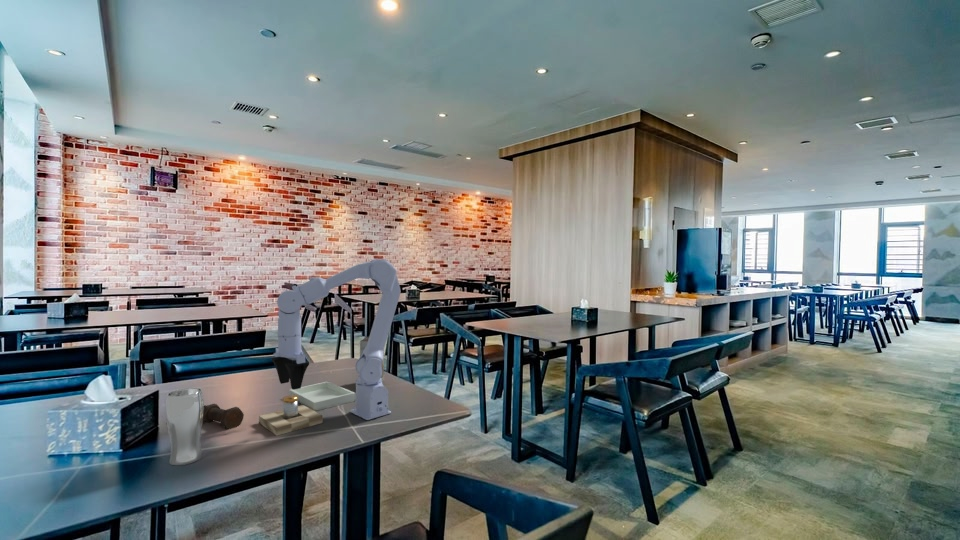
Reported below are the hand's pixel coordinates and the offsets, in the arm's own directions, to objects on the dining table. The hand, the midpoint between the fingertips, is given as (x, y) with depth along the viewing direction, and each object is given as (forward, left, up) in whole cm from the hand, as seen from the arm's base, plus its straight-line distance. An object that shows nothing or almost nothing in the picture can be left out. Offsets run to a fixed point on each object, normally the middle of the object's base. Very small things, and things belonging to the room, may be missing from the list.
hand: (290, 385), depth 118 cm
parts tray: (+13, -15, -10) cm, 22 cm away
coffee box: (+16, -35, -10) cm, 40 cm away
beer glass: (-5, +25, -10) cm, 27 cm away
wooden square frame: (0, 0, -10) cm, 10 cm away
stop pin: (0, 0, -10) cm, 10 cm away
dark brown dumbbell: (+15, +13, -10) cm, 23 cm away
